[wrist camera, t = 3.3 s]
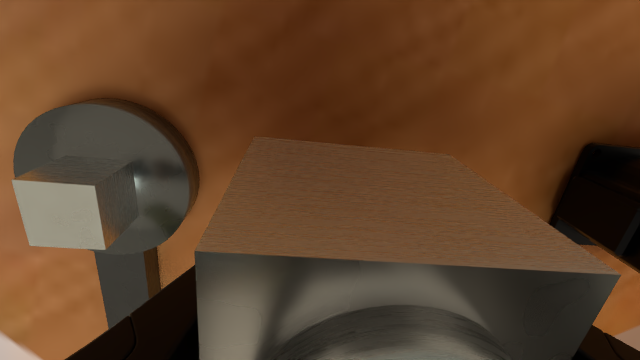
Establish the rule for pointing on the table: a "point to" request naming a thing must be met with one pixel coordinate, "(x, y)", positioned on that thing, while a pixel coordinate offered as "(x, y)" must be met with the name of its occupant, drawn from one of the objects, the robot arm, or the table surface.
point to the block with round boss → (385, 263)
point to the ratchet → (106, 191)
